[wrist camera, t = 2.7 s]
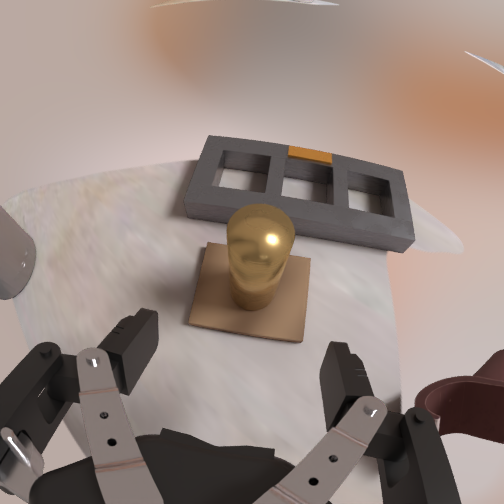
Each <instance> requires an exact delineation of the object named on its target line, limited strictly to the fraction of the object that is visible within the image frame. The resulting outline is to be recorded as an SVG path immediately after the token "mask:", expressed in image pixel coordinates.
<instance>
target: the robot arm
mask: <svg viewBox="0 0 504 504" xmlns="http://www.w3.org/2000/svg"><path fill="white" fill-rule="evenodd" d="M35 258H36V249H35V244H34V241H33V239H32V238H31V237H30V236H29V235H28V234H27V233H26V232H25V231H24V230H23V229H22V228H21V227H20V226H19V225H18V224H17V223H16V222H15V220H14V219H13V218H12V217H11V216H10V215H9V214H8V213H7V212H6V211H5V210H4V209H3V208H2V207H1V206H0V299H3V300H7V299H11V298H13V297H14V296H16V295H17V294H18V293H19V292H20V291H21V290H22V289H23V288H24V287H25V285H26V283H27V282H28V280H29V278H30V276H31V274H32V271H33V268H34V264H35ZM158 341H159V334H158V313H157V311H153V310H149V309H145V308H141V309H140V310H139V311H138V312H137V313H136V315H135V316H128V317H126V318H124V319H122V320H121V321H120V322H119V323H118V324H117V325H116V327H114V328H113V330H112V332H110V333H109V334H108V335H107V336H106V338H105V339H104V340H103V341H102V342H101V343H100V344H99V346H98V347H97V348H87V349H84V350H82V351H81V352H80V353H79V354H78V355H77V356H74V355H66V354H61V350H60V347H59V346H58V345H57V344H55V343H52V342H43V343H40V344H38V345H36V346H35V347H34V348H33V349H32V350H31V351H30V352H29V354H28V355H26V357H25V358H24V359H23V360H22V361H21V362H20V363H19V364H18V365H17V366H16V367H15V368H14V370H13V371H12V372H11V373H10V374H9V375H8V376H7V377H6V378H5V380H4V381H3V382H2V383H1V384H0V489H1V490H2V491H4V492H5V493H7V494H10V495H16V496H18V497H19V498H21V499H22V500H24V501H25V502H27V503H28V504H332V503H331V502H330V501H329V499H330V498H331V497H332V496H333V494H334V493H335V492H336V491H337V489H338V488H339V487H340V485H341V484H342V483H343V482H344V480H345V479H346V478H347V476H348V475H349V474H350V472H351V471H352V469H353V468H354V467H355V465H356V464H357V462H358V461H359V459H360V458H361V456H362V455H366V456H370V457H375V458H377V462H378V469H379V475H380V482H381V489H382V497H383V504H461V501H460V497H459V493H458V490H457V486H456V483H455V479H454V476H453V473H452V470H451V466H450V463H449V460H448V458H447V454H446V452H445V449H444V446H443V443H442V440H441V438H440V435H439V432H438V429H437V427H436V424H435V422H434V419H433V417H432V415H431V414H430V413H429V412H428V411H427V410H425V409H423V408H419V407H413V408H410V409H408V411H407V412H406V413H405V415H403V414H399V413H395V412H391V411H388V410H387V407H386V405H385V404H384V403H383V402H382V401H381V400H380V399H378V398H376V397H374V394H373V391H372V388H371V385H370V382H369V379H368V377H367V374H366V371H365V368H364V365H363V362H362V360H361V359H360V358H359V357H358V356H357V355H356V354H351V353H350V350H349V347H348V344H347V343H344V342H334V341H331V342H330V343H329V346H328V348H327V351H326V354H325V357H324V360H323V363H322V365H321V369H320V377H319V378H320V386H321V392H322V399H323V407H324V414H325V422H326V429H327V432H328V433H327V434H326V435H325V436H324V437H323V439H322V440H321V441H320V442H319V443H318V444H317V445H316V446H315V447H314V448H313V449H312V451H311V452H310V453H309V454H308V455H307V456H306V457H305V458H304V459H303V460H302V461H301V462H300V463H299V464H298V465H297V466H296V467H295V466H294V465H292V464H291V463H289V462H287V461H285V460H283V459H281V458H278V457H275V456H274V453H275V449H271V448H262V447H254V446H223V447H219V446H214V445H211V444H209V443H207V442H204V441H202V440H200V439H198V438H195V437H193V436H191V435H188V434H184V433H180V432H176V431H172V430H169V429H165V428H162V431H161V433H160V435H143V436H138V437H134V435H133V432H132V429H131V426H130V424H129V421H128V418H127V415H126V412H125V409H124V406H123V403H122V400H121V397H120V393H122V394H125V395H128V396H129V395H130V393H131V391H132V390H133V388H134V386H135V385H136V383H137V381H138V380H139V378H140V376H141V374H142V373H143V371H144V369H145V368H146V366H147V364H148V363H149V361H150V359H151V358H152V356H153V354H154V353H155V351H156V349H157V346H158ZM44 388H45V389H44ZM43 389H44V390H43ZM42 390H43V391H42ZM41 392H42V393H41ZM40 393H41V394H40ZM39 394H40V395H39ZM38 396H39V397H38ZM73 402H74V403H80V404H81V410H82V415H83V420H84V425H85V430H86V434H87V439H88V443H89V447H90V451H91V455H92V456H90V457H88V458H85V459H83V460H80V461H77V462H75V463H72V464H70V465H67V466H64V467H61V468H58V469H55V470H53V471H50V472H47V473H45V474H43V468H44V460H43V457H42V455H41V454H42V453H43V451H44V449H45V448H46V446H47V444H48V442H49V441H50V439H51V437H52V436H53V434H54V432H55V431H56V429H57V427H58V426H59V424H60V422H61V421H62V419H63V417H64V416H65V414H66V413H67V411H68V409H69V408H70V406H71V405H72V403H73Z"/></svg>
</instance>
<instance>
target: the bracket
mask: <svg viewBox="0 0 504 504" xmlns="http://www.w3.org/2000/svg"><path fill="white" fill-rule="evenodd" d="M415 407H419V408H423V409H425V410H427V411H428V412H429V413H430V414H431V415H432V417H433V419H434V422H435V424H436V427H437V429H438V432H439V435H440V436H442V435H445V434H451V433H463V434H468V435H471V436H475V437H478V438H482V439H486V440H490V441H493V442H498V443H502V444H504V349H503V350H500V351H497V352H496V353H494V354H493V355H492V357H491V358H490V359H489V360H488V361H487V362H486V363H485V364H484V365H483V366H482V367H481V368H480V369H479V370H478V371H477V372H476V373H475V374H474V375H473V376H457V377H451V378H446V379H443V380H440V381H437V382H434V383H432V384H430V385H428V386H427V387H425V388H424V389H422V390H421V391H420V392H419V393H418V395H417V396H416V398H415Z"/></svg>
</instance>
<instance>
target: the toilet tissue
mask: <svg viewBox="0 0 504 504" xmlns="http://www.w3.org/2000/svg"><path fill="white" fill-rule="evenodd" d="M295 1H300V2H312V1H313V0H295Z"/></svg>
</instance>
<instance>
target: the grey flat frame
mask: <svg viewBox="0 0 504 504" xmlns="http://www.w3.org/2000/svg"><path fill="white" fill-rule="evenodd" d="M224 168H229V169H237V170H244V171H252V172H259V173H265V174H268V179H267V185H266V191H265V193H260V192H253V191H246V190H239V189H232V188H225V187H219V183H220V180H221V177H222V173H223V170H224ZM283 177H290V178H296V179H302V180H308V181H313V182H318V183H324V184H327V204H325V203H320V202H314V201H309V200H303V199H297V198H291V197H285V196H281V193H282V185H283ZM348 189H353V190H358V191H362V192H366V193H371V194H375V195H379V196H380V200H381V209H382V215H379V214H374V213H370V212H365V211H360V210H355V209H351V208H349V201H348ZM251 204H268V205H272V206H274V207H277V208H278V209H280V210H282V211H283V212H284V213H285V214H286V215H287V216H288V217H289V218H290V220H291V221H292V223H293V226H294V229H295V234H297V235H303V236H309V237H314V238H320V239H326V240H332V241H338V242H343V243H349V244H355V245H360V246H366V247H371V248H377V249H382V250H387V251H393V252H398V253H404V252H405V251H406V250H407V249H408V248H409V246H410V245H411V244H412V243H413V242H414V241H415V234H414V228H413V221H412V215H411V210H410V204H409V199H408V194H407V189H406V184H405V180H404V175H403V171H400V170H397V169H393V168H390V167H386V166H382V165H379V164H375V163H370V162H366V161H362V160H358V159H354V158H350V157H345V156H341V155H336V154H332V153H327V152H322V151H317V150H312V149H306V148H300V147H295V146H289V145H283V144H276V143H269V142H263V141H256V140H248V139H239V138H231V137H221V136H211V135H209V136H208V138H207V141H206V143H205V145H204V148H203V151H202V153H201V155H200V158H199V161H198V163H197V166H196V168H195V171H194V174H193V176H192V179H191V182H190V184H189V187H188V190H187V193H186V195H185V198H184V205H185V209H186V213H187V217H188V218H193V219H200V220H206V221H213V222H220V223H227V224H228V222H229V220H230V218H231V217H232V215H233V214H234V213H235V212H236V211H238V210H239V209H241V208H242V207H244V206H247V205H251Z"/></svg>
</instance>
